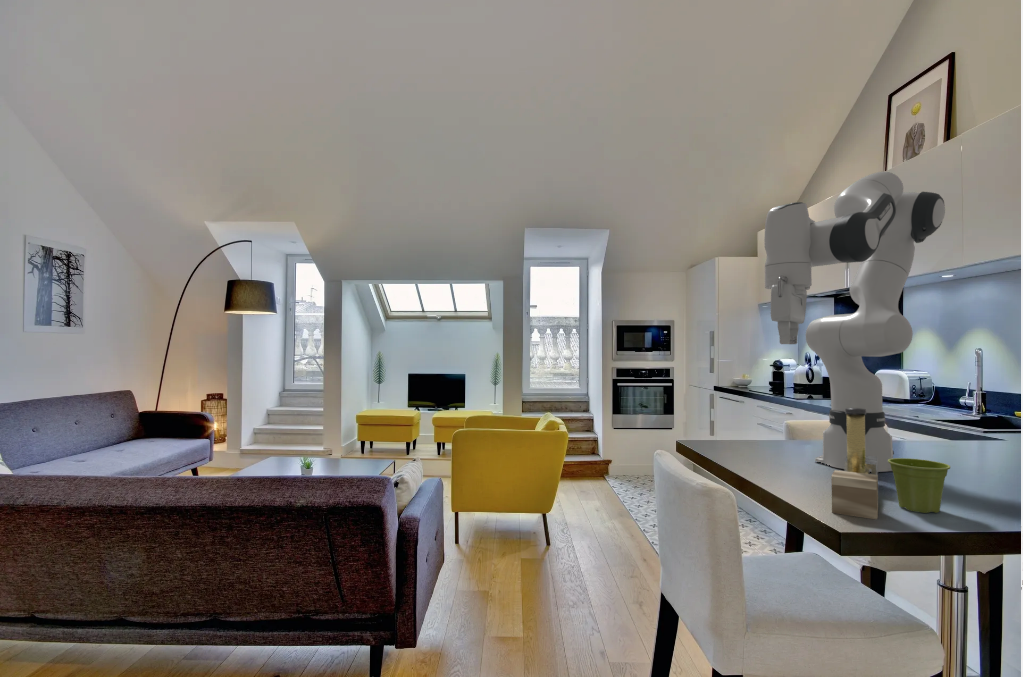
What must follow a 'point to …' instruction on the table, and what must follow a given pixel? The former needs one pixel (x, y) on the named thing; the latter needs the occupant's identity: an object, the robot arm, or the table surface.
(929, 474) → the plant pot
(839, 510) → the socket block
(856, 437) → the slip tube
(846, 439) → the robot arm
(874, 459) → the sleeve
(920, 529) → the table surface
